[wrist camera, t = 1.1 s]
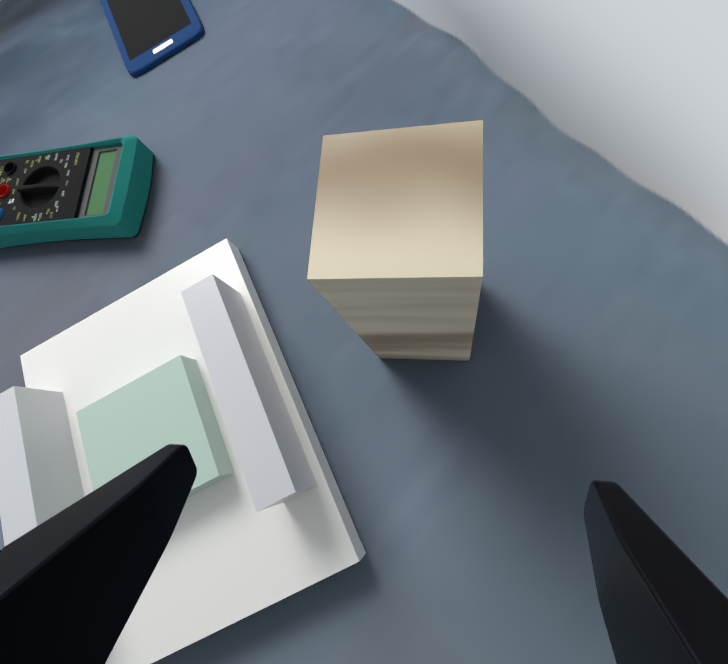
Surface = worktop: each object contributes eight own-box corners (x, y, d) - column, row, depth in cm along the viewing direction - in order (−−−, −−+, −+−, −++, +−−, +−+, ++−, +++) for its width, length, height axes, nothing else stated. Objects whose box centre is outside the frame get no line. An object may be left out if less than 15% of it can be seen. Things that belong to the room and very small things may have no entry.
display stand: (365, 553, 21) (342, 581, 17) (105, 681, 22) (21, 738, 18) (238, 248, 27) (198, 213, 23) (42, 360, 29) (-31, 345, 24)
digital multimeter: (11, 174, 35) (-28, 152, 32) (161, 154, 32) (133, 127, 29) (-11, 253, 33) (-54, 236, 30) (145, 240, 30) (113, 220, 27)
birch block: (469, 360, 22) (482, 276, 11) (379, 358, 23) (306, 278, 12) (470, 275, 24) (482, 120, 12) (384, 276, 25) (323, 135, 13)
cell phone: (135, 84, 34) (128, 76, 34) (99, -11, 39) (92, -19, 38) (209, 38, 34) (204, 29, 33) (164, -52, 38) (158, -62, 38)
